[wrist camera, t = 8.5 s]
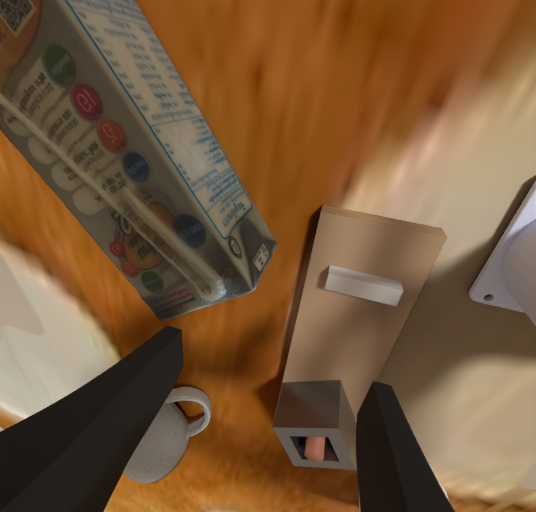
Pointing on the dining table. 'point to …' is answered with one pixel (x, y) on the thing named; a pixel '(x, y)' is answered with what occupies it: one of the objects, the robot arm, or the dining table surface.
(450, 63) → the dining table surface
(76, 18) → the beverage carton
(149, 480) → the ceramic mug
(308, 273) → the board
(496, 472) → the dining table surface
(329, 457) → the open square sleeve
